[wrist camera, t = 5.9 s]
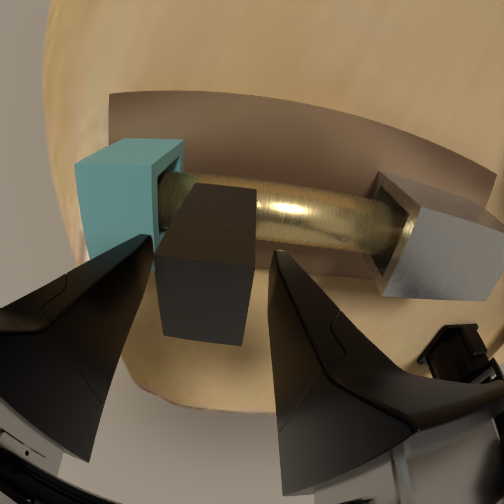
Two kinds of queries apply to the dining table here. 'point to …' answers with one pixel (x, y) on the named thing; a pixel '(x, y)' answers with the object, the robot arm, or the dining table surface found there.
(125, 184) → the socket
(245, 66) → the dining table surface
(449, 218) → the grey block
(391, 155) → the base board
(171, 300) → the tube
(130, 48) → the dining table surface
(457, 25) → the dining table surface
